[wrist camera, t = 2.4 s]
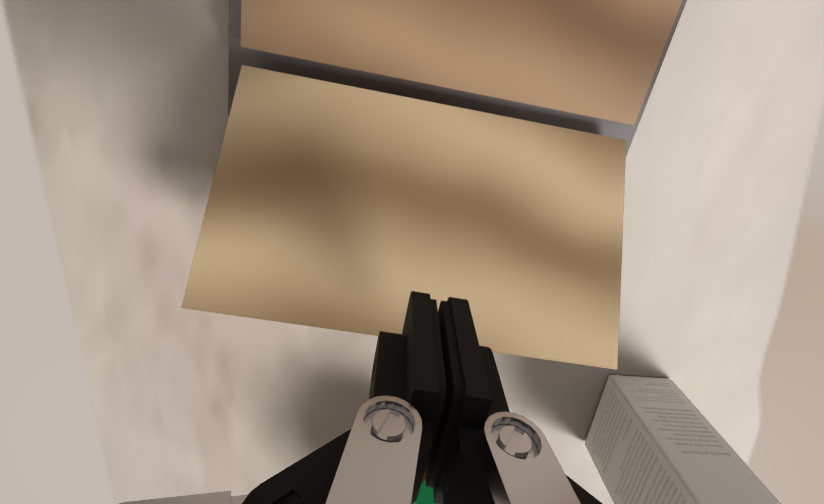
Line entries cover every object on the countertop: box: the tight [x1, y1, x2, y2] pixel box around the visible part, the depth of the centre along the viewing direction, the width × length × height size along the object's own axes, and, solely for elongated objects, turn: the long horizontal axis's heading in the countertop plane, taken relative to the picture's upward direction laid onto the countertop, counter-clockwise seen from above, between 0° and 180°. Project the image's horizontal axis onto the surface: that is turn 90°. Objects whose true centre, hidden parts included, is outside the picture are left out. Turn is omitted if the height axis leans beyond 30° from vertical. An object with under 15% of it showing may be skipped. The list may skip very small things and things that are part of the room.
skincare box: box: [585, 375, 781, 504], centre depth 22 cm, size 6×4×12 cm
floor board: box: [228, 0, 687, 155], centre depth 18 cm, size 20×18×2 cm
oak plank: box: [181, 65, 626, 370], centre depth 17 cm, size 10×16×2 cm
